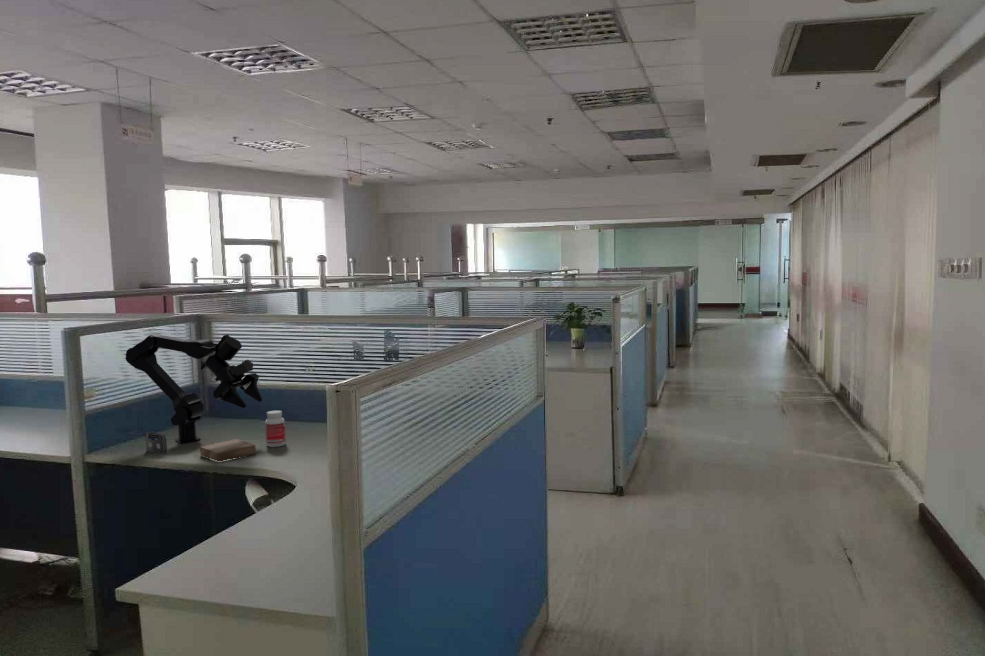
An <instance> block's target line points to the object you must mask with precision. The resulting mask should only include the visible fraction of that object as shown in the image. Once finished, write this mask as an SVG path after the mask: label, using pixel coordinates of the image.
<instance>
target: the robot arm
mask: <svg viewBox="0 0 985 656" xmlns="http://www.w3.org/2000/svg"><path fill="white" fill-rule="evenodd" d="M242 348H243V345H242V343H241V342H240V341H239V340H238V339H237V338H235V337H232V336H230V335H229V334H224V335H223V336H222V337H221V338H220V340H219V342H218V343H217V342H213V341H212V340H211V339H185V338H181V337H180V338H178V337H173V336H168V335H163V334H161V333H160V334H159V333H155V334H150V335H148V336H147V337H145V338H144V339H143V340H142V341H140V342H138V343H137V344H135V345H134V346H133V347H130V348H128V349H127V350H126V351H125V359H124V360H125V361H126V362H127V364H129V365H131V366H132V367H133V368H135V369H136V370H139V371H141V372H144V373H145V374H146V376H148V377H149V379H151V381H152V382H153V383H154V384H155V385H156V386H157V387H158V388H159V390H161V391H162V392H163V393H164V394H165V396H167V398H168V399H169V400H170V401H171V402H172V408H173V410H174V412H175V413H174V415H173V416H172V417H171V418H170V422H171V424H172V426H177V434H178V437H177V438H176V437H175V439H174V440H175V441H176V442H178V443H179V444H185V443H191V441H192V442H196V440H197V441H201V439H202V438H201V437H198V436H197V424H196V423H197V421H200V420H201V418H202V415H203V413H204V411H205V410H204V407H205V405H204V403H203V402H202V401H203V400H202V399H201V398H200V397H198V395H197V394H196V393H195V392H190V393H187V392H185V391H184V389H182V388H181V386H180V385H178V383H176V381H175V380H174V379H173V377H171V376H170V375H169V374H168V373H167V371H165V370H164V368H163V367H161V366H160V364H159V363H158V360H157V355H156V353H157V352H158V351H159V349H166V350H169V351H175V352H180V353H184V354H186V355H187V356H188V357H190V358H192V359H196V360H200V359H203V358H206V359H205V360H203V361H200V370H201V371H204V370H207V369H208V370H209V371H210V372H211V373H212V374H213V375H214V377H215V379H214V380H215V382H220V383H219V384H218V385H217V386H216V388H215V389H214V390H213V391H212V396H213V398H215V400H217V401H218V400H220V401H223V402H227V403H230V404H232V405H235V406H237V407H240V408H243V409H245V408H246V407H247V404H246V403H245V401H244V400H243V398H242V397H241V396H240V395H239V393H237V389H238V388H240V389H241V391H243V393H244V394H246V395H247V396H249V397H251V398H252V399H254V400H255V401H257V402H259V403H262V401H263V398H262V396H261V393H260V391H259V388H258V382H259V379H260V376H259V375H258V374H257V372H251V371H253V370H254V369H253V368H254V363H253V362H252V361H251V360H249V359H245V360H243V361H242V362H241V363H240V364H237V365H234V364H233V365H231V364H229V362H228V361H232V360H233V359H234V357H235V356H236V355H237V354H238V353H239V351H240V350H241V349H242ZM249 372H251V373H249ZM246 373H247V374H246Z"/></svg>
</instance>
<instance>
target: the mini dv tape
mask: <svg viewBox="0 0 985 656" xmlns="http://www.w3.org/2000/svg"><path fill="white" fill-rule="evenodd" d="M144 435H145V436H144V437H145V446H146V448H145V449H146V451H147V452H151V453H156V454H161V453H164V454H167V453H168V444H167V436H166V434H163V433H162V434H161V433H157V432H156V433H155V432H149V431H148V432H145V434H144ZM166 452H167V453H166Z"/></svg>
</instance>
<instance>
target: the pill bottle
mask: <svg viewBox="0 0 985 656" xmlns="http://www.w3.org/2000/svg"><path fill="white" fill-rule="evenodd" d="M266 417H267V418H266V420H265V422H264V425H265V426H264V427H265V443H266V446H267V447H268V446H269V447H268V448H278V447H282V446H285V445H286V444H287V443H286V442H287V440H286V439H287V438H286V437H287V436H286V435H287V434H286V423H285V418H284V417H283V411H282V410H270V411H267V412H266Z"/></svg>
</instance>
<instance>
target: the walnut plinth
mask: <svg viewBox="0 0 985 656" xmlns="http://www.w3.org/2000/svg"><path fill="white" fill-rule="evenodd" d="M199 450H200V456H201V455H202V456H205V457H208V458H211V459H214V460H217V461H223V460H227V459H233V458H239V457H243V458H245V457H244V456H247V457H250V456H249V455H251V456H254V455H253V454H255V455H256V453H257V452H256V444H253V443H251V442H248V441H244V440H242V439H238V438H234V439H230V440H225V441H219V442H216V443H211V444H206V445H201V446H199ZM202 456H201V457H202ZM239 459H240V458H239Z"/></svg>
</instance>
